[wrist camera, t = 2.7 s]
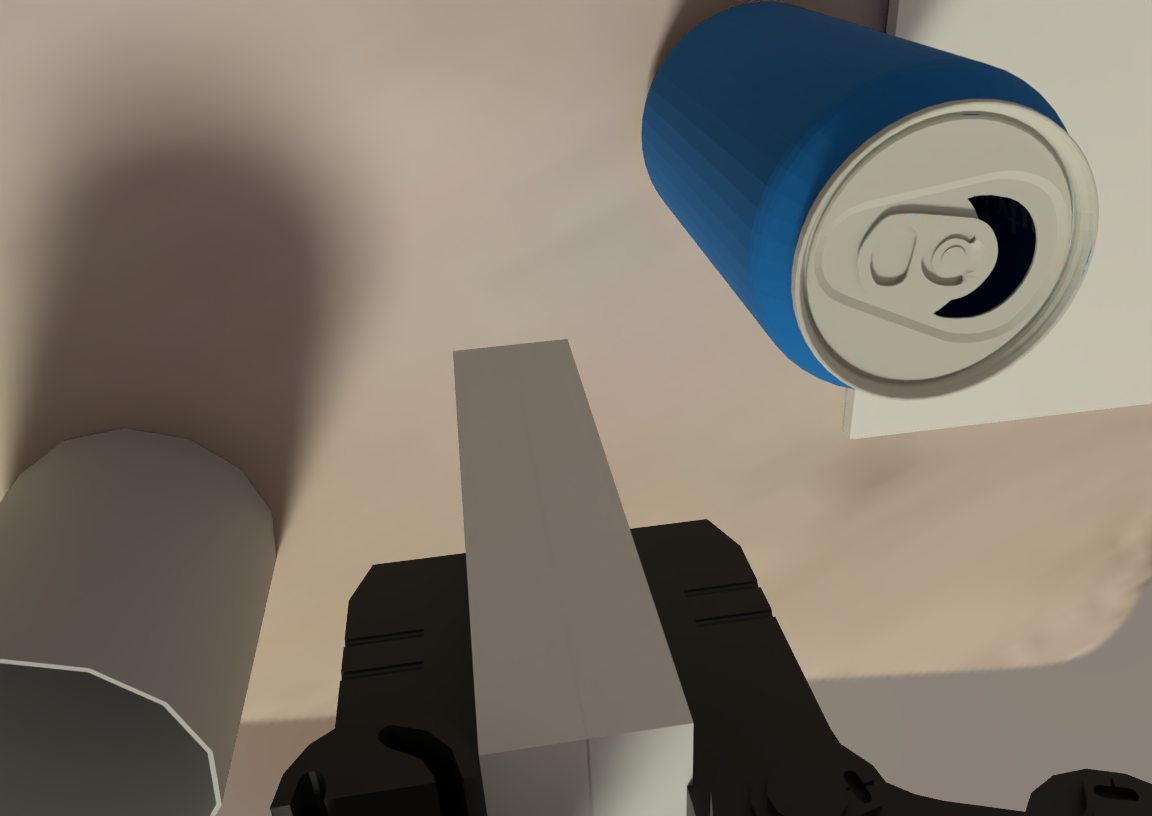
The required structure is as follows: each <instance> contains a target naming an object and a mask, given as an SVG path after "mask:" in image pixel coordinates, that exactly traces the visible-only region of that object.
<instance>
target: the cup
mask: <svg viewBox="0 0 1152 816" xmlns="http://www.w3.org/2000/svg"><path fill="white" fill-rule="evenodd" d="M276 558H277V555H276V546H275V537H274V527H273V518H272V511H271V510H270V509H269V507H268V506H267V504H266V503H265V502H264V500H263V499H262V498H261V496H260V495H259V493H258V492H257V491H256V489H255V488H254V487H253V485H252V484H251V482H250V481H249V480H248V478H247V477H246V476H245V474H244V473H243V471H242V470H241V469H239V468H238V467H236V466H234V465H233V464H231V463H229V462H227V461H226V460H224V459H222V458H221V457H219V456H217V455H215V454H214V453H212V452H210V451H208V450H207V449H205V448H203V447H202V446H200V445H198V444H196V443H195V442H193V441H191V440H190V439H186V438H180V437H174V436H168V435H162V434H156V433H150V432H145V431H139V430H133V429H127V428H123V429H118V430H113V431H108V432H103V433H98V434H93V435H89V436H84V437H79V438H74V439H69V440H64V441H63V442H61V443H60V444H59V445H57V446H56V447H55V448H53V449H52V450H51V451H49V452H48V453H47V454H45V455H44V456H43V457H42V458H40V459H39V460H38V461H36V462H35V463H34V464H32V465H31V466H30V467H28V468H27V469H26V470H24V471H23V472H22V473H21V474H20V475H19V476H18V478H17V479H16V481H15V482H14V484H13V485H12V487H11V488H10V489H9V491H8V492H7V494H6V495H5V497H4V498H3V499H2V501H1V502H0V816H216V814H217V812H218V810H219V808H220V806H221V805H222V800H223V796H224V792H225V787H226V783H227V778H228V774H229V769H230V764H231V760H232V756H233V751H234V747H235V742H236V738H237V733H238V729H239V724H240V720H241V715H242V711H243V706H244V702H245V697H246V693H247V688H248V684H249V679H250V675H251V670H252V666H253V661H254V657H255V652H256V648H257V643H258V639H259V634H260V630H261V625H262V621H263V616H264V612H265V607H266V603H267V598H268V594H269V589H270V585H271V580H272V576H273V571H274V567H275V562H276Z"/></svg>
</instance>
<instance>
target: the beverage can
mask: <svg viewBox="0 0 1152 816" xmlns="http://www.w3.org/2000/svg"><path fill="white" fill-rule="evenodd" d="M642 150H643V155H644V160H645V165H646V168H647V171H648V173H649V176H650V179H651V181H652V183H653V185H654V187H655V189H656V191H657V192H658V194H659V195H660V197H661V198H662V199H663V201H664V202H665V204H666V205H667V206H668V207H669V209H670V210H671V211H672V213H673V214H674V215H675V216H676V218H677V219H678V220H679V222H680V223H681V224H682V225H683V227H684V228H685V229H686V230H687V232H688V233H689V234H690V236H691V237H692V238H693V239H694V241H695V242H696V243H697V245H698V246H699V247H700V248H701V250H702V251H703V252H704V254H705V255H706V256H707V257H708V259H709V260H710V261H711V263H712V264H713V265H714V266H715V268H716V269H717V270H718V272H719V273H720V274H721V275H722V277H723V278H724V279H725V280H726V282H727V283H728V284H729V286H730V287H731V288H732V289H733V291H734V292H735V293H736V295H737V296H738V297H739V298H740V300H741V301H742V302H743V304H744V305H745V306H746V307H747V309H748V310H749V311H750V313H751V314H752V315H753V316H754V318H755V319H756V320H757V322H758V323H759V324H760V325H761V327H762V328H763V329H764V330H765V332H766V333H767V334H768V336H769V337H770V338H771V339H772V341H773V342H774V343H775V345H776V346H777V347H778V348H779V349H780V350H781V351H782V352H783V353H784V354H785V355H786V356H787V357H788V358H789V359H790V360H791V361H793V362H794V363H795V364H796V365H798V366H799V367H800V368H802V369H803V370H805V371H807V372H809V373H810V374H812V375H814V376H816V377H817V378H819V379H822V380H824V381H827V382H830V383H832V384H835V385H838V386H842V387H846V388H851V389H855V390H858V391H861V392H863V393H866V394H869V395H871V396H875V397H880V398H884V399H889V400H901V401H917V400H928V399H935V398H941V397H945V396H949V395H952V394H956V393H960V392H962V391H965V390H968V389H970V388H973V387H975V386H978V385H980V384H982V383H984V382H986V381H988V380H990V379H992V378H994V377H996V376H997V375H999V374H1000V373H1002V372H1004V371H1005V370H1007V369H1008V368H1010V367H1011V366H1013V365H1014V364H1015V363H1017V362H1018V361H1019V360H1021V359H1022V358H1023V357H1024V356H1026V355H1027V354H1028V353H1029V352H1031V351H1032V350H1033V349H1034V348H1035V347H1036V346H1037V345H1038V344H1039V343H1040V342H1041V341H1042V340H1043V339H1044V338H1045V337H1046V336H1047V335H1048V334H1049V332H1050V331H1051V330H1052V329H1053V328H1054V327H1055V326H1056V324H1057V323H1058V322H1059V320H1060V319H1061V318H1062V316H1063V315H1064V313H1065V312H1066V311H1067V309H1068V308H1069V306H1070V305H1071V303H1072V301H1073V300H1074V298H1075V296H1076V294H1077V293H1078V291H1079V289H1080V287H1081V285H1082V282H1083V280H1084V278H1085V276H1086V273H1087V271H1088V268H1089V265H1090V262H1091V259H1092V256H1093V253H1094V249H1095V243H1096V238H1097V233H1098V219H1099V207H1098V194H1097V189H1096V185H1095V181H1094V176H1093V174H1092V171H1091V169H1090V166H1089V164H1088V161H1087V159H1086V157H1085V156H1084V154H1083V152H1082V151H1081V149H1080V147H1079V146H1078V144H1077V143H1076V142H1075V141H1074V140H1073V138H1072V137H1071V136H1070V135H1069V134H1068V132H1067V130H1066V128H1065V126H1064V124H1063V123H1062V121H1061V119H1060V118H1059V116H1058V114H1057V113H1056V111H1055V110H1054V109H1053V108H1052V106H1051V105H1050V104H1049V103H1048V102H1047V101H1046V100H1045V98H1044V97H1043V96H1042V95H1041V94H1040V93H1039V92H1038V91H1036V90H1035V89H1034V88H1033V87H1031V86H1030V85H1029V84H1028V83H1026V82H1025V81H1024V80H1022V79H1020V78H1019V77H1017V76H1015V75H1013V74H1011V73H1009V72H1008V71H1006V70H1003V69H1000V68H997V67H994V66H992V65H989V64H986V63H982V62H979V61H976V60H973V59H969V58H966V57H963V56H959V55H956V54H953V53H949V52H946V51H943V50H939V49H936V48H933V47H929V46H926V45H923V44H920V43H916V42H913V41H910V40H906V39H903V38H900V37H896V36H893V35H890V34H886V33H883V32H880V31H876V30H873V29H870V28H867V27H863V26H860V25H857V24H853V23H850V22H847V21H843V20H840V19H837V18H833V17H830V16H827V15H823V14H820V13H817V12H814V11H810V10H807V9H804V8H800V7H797V6H794V5H789V4H784V3H778V2H758V3H750V4H744V5H740V6H737V7H733V8H730V9H727V10H725V11H723V12H720V13H718V14H716V15H714V16H712V17H711V18H709V19H707V20H705V21H704V22H702V23H701V24H699V25H698V26H697V27H695V28H694V29H693V30H692V31H690V32H689V33H688V34H687V35H686V36H685V37H684V38H683V39H682V40H681V41H680V42H679V43H678V44H677V45H676V46H675V47H674V48H673V50H672V51H671V52H670V54H669V55H668V56H667V57H666V59H665V60H664V62H663V64H662V65H661V67H660V69H659V70H658V72H657V74H656V76H655V78H654V81H653V83H652V85H651V87H650V90H649V93H648V96H647V100H646V103H645V108H644V113H643V119H642Z"/></svg>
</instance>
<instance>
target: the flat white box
mask: <svg viewBox="0 0 1152 816" xmlns="http://www.w3.org/2000/svg"><path fill="white" fill-rule="evenodd" d="M886 34H890V35H893V36H896V37H900V38H903V39H906V40H910V41H913V42H916V43H920V44H923V45H926V46H929V47H933V48H936V49H939V50H943V51H946V52H949V53H953V54H956V55H959V56H963V57H966V58H969V59H973V60H976V61H979V62H982V63H986V64H989V65H992V66H994V67H997V68H1000V69H1003V70H1006V71H1008V72H1009V73H1011V74H1013V75H1015V76H1017V77H1019V78H1020V79H1022V80H1024V81H1025V82H1026V83H1028V84H1029V85H1030V86H1031V87H1033V88H1034V89H1035V90H1036V91H1038V92H1039V93H1040V94H1041V95H1042V96H1043V97H1044V98H1045V100H1046V101H1047V102H1048V103H1049V104H1050V105H1051V106H1052V108H1053V109H1054V110H1055V111H1056V113H1057V114H1058V116H1059V118H1060V119H1061V121H1062V123H1063V124H1064V126H1065V128H1066V130H1067V132H1068V134H1069V135H1070V136H1071V137H1072V138H1073V140H1074V141H1075V142H1076V143H1077V144H1078V146H1079V147H1080V149H1081V151H1082V152H1083V154H1084V156H1085V157H1086V159H1087V161H1088V164H1089V166H1090V169H1091V171H1092V174H1093V176H1094V181H1095V185H1096V189H1097V194H1098V207H1099V219H1098V233H1097V238H1096V243H1095V249H1094V253H1093V256H1092V259H1091V262H1090V265H1089V268H1088V271H1087V273H1086V276H1085V278H1084V280H1083V282H1082V285H1081V287H1080V289H1079V291H1078V293H1077V294H1076V296H1075V298H1074V300H1073V301H1072V303H1071V305H1070V306H1069V308H1068V309H1067V311H1066V312H1065V313H1064V315H1063V316H1062V318H1061V319H1060V320H1059V322H1058V323H1057V324H1056V326H1055V327H1054V328H1053V329H1052V330H1051V331H1050V332H1049V334H1048V335H1047V336H1046V337H1045V338H1044V339H1043V340H1042V341H1041V342H1040V343H1039V344H1038V345H1037V346H1036V347H1035V348H1034V349H1033V350H1032V351H1031V352H1029V353H1028V354H1027V355H1026V356H1024V357H1023V358H1022V359H1021V360H1019V361H1018V362H1017V363H1015V364H1014V365H1013V366H1011V367H1010V368H1008V369H1007V370H1005V371H1004V372H1002V373H1000V374H999V375H997V376H996V377H994V378H992V379H990V380H988V381H986V382H984V383H982V384H980V385H978V386H975V387H973V388H970V389H968V390H965V391H962V392H960V393H956V394H952V395H949V396H945V397H941V398H935V399H928V400H917V401H901V400H889V399H884V398H880V397H875V396H871V395H869V394H866V393H863V392H861V391H858V390H855V389H851V388H848V389H847V398H846V407H845V416H844V426H843V432H844V433H845V434H846V435H847V437H848V438H849V439H858V438H866V437H875V436H883V435H891V434H900V433H908V432H916V431H925V430H933V429H941V428H950V427H958V426H967V425H975V424H983V423H992V422H1000V421H1008V420H1017V419H1025V418H1033V417H1042V416H1050V415H1058V414H1067V413H1075V412H1083V411H1092V410H1100V409H1108V408H1117V407H1125V406H1133V405H1142V404H1150V403H1152V0H889V10H888V19H887V28H886Z"/></svg>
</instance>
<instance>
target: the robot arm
mask: <svg viewBox="0 0 1152 816" xmlns="http://www.w3.org/2000/svg"><path fill="white" fill-rule="evenodd" d="M453 359H454V375H455V390H456V406H457V422H458V438H459V453H460V469H461V485H462V501H463V516H464V532H465V548H466V553H463V554H455V555H447V556H439V557H431V558H424V559H416V560H408V561H400V562H392V563H384V564H377V565H373V566H372V567H371V569H370V570H369V572H368V573H367V575H366V576H365V578H364V579H363V581H362V582H361V583H360V585H359V586H358V588H357V589H356V591H355V592H354V594H353V595H352V597H351V598H350V600H349V605H348V614H347V623H346V632H345V647H344V651H343V660H342V669H341V674H342V681H340V687H339V697H338V706H337V715H336V724H335V729H334V730H332V731H330V732H329V733H327V734H326V735H324V736H323V737H321V738H319V739H318V740H316V741H314V742H313V743H311V744H310V745H309V746H308V747H307V748H306V749H305V750H304V751H303V752H302V754H301V755H300V756H299V757H298V758H297V759H296V760H295V761H294V763H293V764H292V765H291V766H290V767H289V768H288V769H287V770H286V772H285V773H284V774H283V776H282V779H281V781H280V784H279V786H278V789H277V792H276V794H275V797H274V799H273V802H272V804H271V807H270V810H271V813H272V816H1152V784H1150V783H1148V782H1145V781H1142V780H1140V779H1137V778H1135V777H1132V776H1130V775H1127V774H1123V773H1115V772H1107V771H1099V770H1091V769H1083V770H1078V771H1073V772H1068V773H1063V774H1058V775H1053V776H1052V777H1051V778H1050V779H1048V780H1047V781H1046V782H1044V783H1043V784H1042V785H1041V786H1040V787H1038V788H1037V789H1036V790H1034V791H1033V792H1032V793H1031V795H1030V799H1029V802H1028V805H1027V808H1026V812H1022V811H1015V810H1006V809H999V808H992V807H985V806H977V805H970V804H962V803H955V802H947V801H942V800H937V799H933V798H929V797H924V796H920V795H916V794H913V793H910V792H908V791H905V790H903V789H901V788H898V787H896V786H894V785H891V784H889V783H886V782H885V780H884V779H883V778H882V777H881V775H880V774H879V773H878V772H877V770H876V769H875V768H874V766H873V765H871V764H870V763H868V762H867V761H865V760H864V759H862V758H861V757H859V756H858V755H856V754H855V753H853V752H852V751H850V750H849V749H847V748H846V747H844V746H842V745H841V744H840V743H839V741H838V740H837V738H836V737H835V735H834V734H833V732H832V730H831V729H830V727H829V725H828V723H827V721H826V719H825V717H824V715H823V713H822V711H821V709H820V707H819V705H818V703H817V701H816V699H815V697H814V695H813V693H812V690H811V688H810V686H809V684H808V682H807V680H806V678H805V676H804V674H803V672H802V670H801V668H800V666H799V664H798V662H797V660H796V658H795V656H794V654H793V652H792V650H791V648H790V646H789V644H788V642H787V640H786V638H785V636H784V634H783V632H782V630H781V628H780V626H779V623H778V621H777V619H776V617H773V616H772V610H771V607H770V605H769V603H768V601H767V599H766V597H765V595H764V593H763V591H762V589H761V587H758V584H757V579H756V577H755V575H754V573H753V571H752V569H751V567H750V565H749V563H748V561H747V559H746V557H745V554H744V552H743V550H742V548H741V546H740V545H738V544H737V543H736V542H735V541H733V540H732V539H731V538H730V537H728V536H727V535H726V534H725V533H724V532H722V531H721V530H720V529H719V528H717V527H716V526H715V525H714V524H712V523H711V522H710V521H709V520H707V519H704V520H697V521H689V522H681V523H673V524H665V525H657V526H649V527H642V528H634V529H630V528H629V525H628V522H627V519H626V516H625V513H624V510H623V507H622V504H621V501H620V498H619V495H618V492H617V489H616V486H615V483H614V480H613V477H612V474H611V470H610V467H609V464H608V461H607V458H606V455H605V452H604V449H603V446H602V443H601V440H600V437H599V434H598V431H597V428H596V425H595V422H594V419H593V416H592V413H591V410H590V407H589V404H588V401H587V398H586V394H585V391H584V388H583V385H582V382H581V379H580V376H579V373H578V370H577V367H576V364H575V361H574V358H573V355H572V352H571V349H570V346H569V343H568V340H567V339H564V340H554V341H545V342H535V343H526V344H516V345H507V346H497V347H488V348H478V349H469V350H459V351H453Z"/></svg>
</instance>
